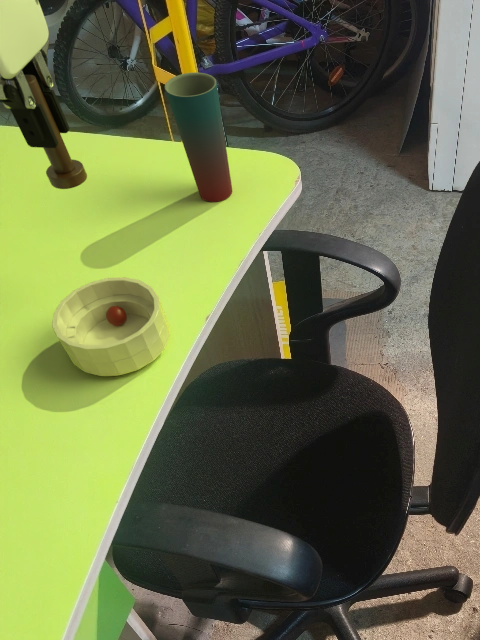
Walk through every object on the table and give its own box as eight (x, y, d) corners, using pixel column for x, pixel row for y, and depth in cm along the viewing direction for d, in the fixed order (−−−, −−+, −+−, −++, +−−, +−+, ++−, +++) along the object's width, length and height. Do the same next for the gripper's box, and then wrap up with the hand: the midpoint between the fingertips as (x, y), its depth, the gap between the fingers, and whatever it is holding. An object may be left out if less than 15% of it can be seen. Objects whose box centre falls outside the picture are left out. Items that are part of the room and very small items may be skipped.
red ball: (107, 329, 73) (99, 314, 71) (114, 316, 74) (107, 301, 72) (125, 330, 73) (118, 315, 71) (132, 317, 74) (125, 302, 72)
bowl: (54, 375, 70) (34, 344, 65) (93, 305, 76) (77, 273, 72) (152, 384, 68) (138, 353, 64) (183, 312, 75) (172, 280, 71)
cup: (185, 200, 89) (154, 91, 76) (208, 176, 92) (182, 69, 79) (224, 209, 87) (199, 100, 75) (246, 185, 91) (225, 77, 78)
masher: (45, 188, 64) (-5, 88, 56) (59, 168, 67) (13, 69, 58) (79, 190, 64) (34, 89, 56) (92, 170, 66) (51, 70, 58)
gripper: (-53, -129, 51) (47, 101, 66) (-164, -69, 42) (-19, 179, 58) (28, -129, 50) (110, 103, 66) (-68, -68, 42) (53, 182, 57)
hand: (49, 137), depth 61 cm, fingers closed on masher, 2 cm apart
